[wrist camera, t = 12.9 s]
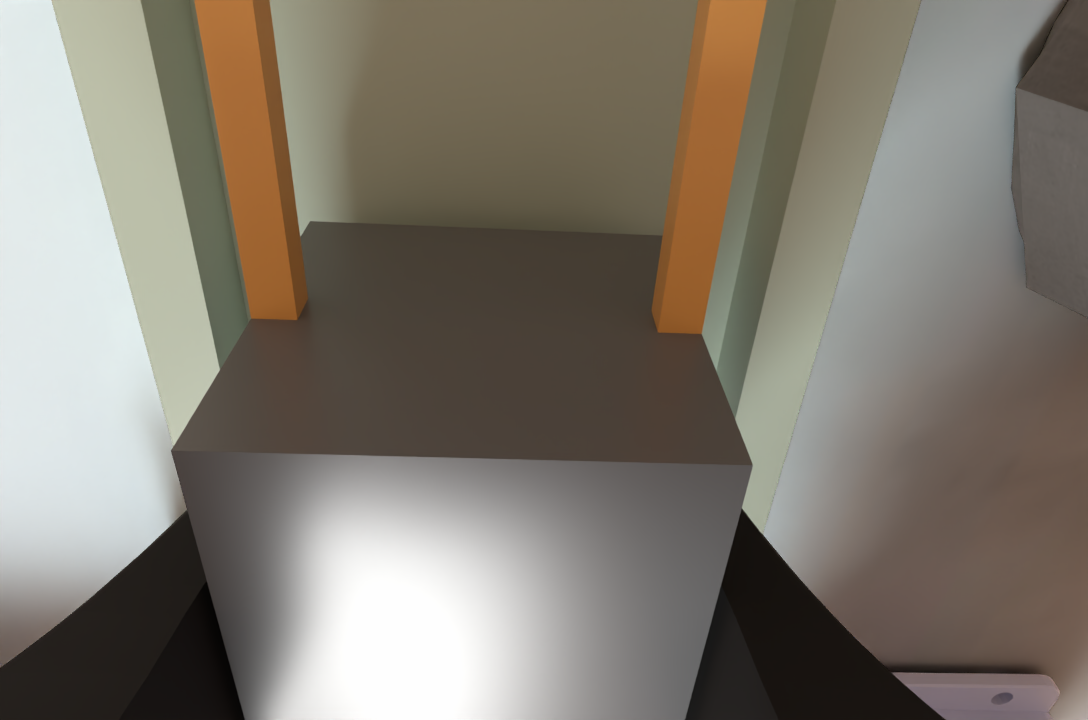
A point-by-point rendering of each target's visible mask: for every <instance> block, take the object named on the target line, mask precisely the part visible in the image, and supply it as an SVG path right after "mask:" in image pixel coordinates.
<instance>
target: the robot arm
mask: <svg viewBox="0 0 1088 720" xmlns="http://www.w3.org/2000/svg"><path fill="white" fill-rule="evenodd" d="M1059 695H1060V691H1059V689H1058V687H1057V686H1056V684H1055V683H1054V681H1053V679H1052V678H1050V677H1049V676H1047V675H1042V674H990V673H904V672H890V671H889V670H888V669H887V668H886V667H885V666H884V665H883V664H882V663H881V662H880V661H879V660H877V659H876V658H875V657H874V656H873V655H872V654H871V653H870V652H869V651H868V650H867V649H866V648H865V647H864V646H863V645H862V644H861V643H859V642H858V641H857V640H856V639H855V638H854V637H853V635H852V634H851V633H850V632H849V631H848V630H847V629H846V628H845V627H844V626H843V625H842V624H841V623H840V622H839V621H838V620H837V619H836V618H835V617H834V616H833V615H832V614H831V613H830V612H829V611H828V609H827V608H826V607H825V606H824V605H823V604H822V603H821V602H820V601H819V600H818V599H817V597H816V596H815V595H814V594H813V593H812V592H811V591H810V590H809V589H808V588H807V587H806V585H805V584H804V583H803V582H802V581H801V580H800V579H799V577H798V576H797V575H796V574H795V573H794V572H793V570H792V569H791V568H790V567H789V566H788V565H787V563H786V562H785V561H784V560H783V559H782V557H781V556H780V555H779V554H778V553H777V551H776V550H775V549H774V548H773V546H772V545H771V544H770V543H769V542H768V540H767V539H766V538H765V537H764V536H763V534H762V533H761V532H760V531H759V529H758V528H757V527H756V526H755V524H754V523H753V522H752V521H751V519H750V518H749V517H748V515H747V514H746V513H745V511H744V510H743V509H741V513H740V516H739V520H738V524H737V528H736V531H735V535H734V539H733V543H732V546H731V550H730V554H729V557H728V561H727V565H726V569H725V572H724V576H723V580H722V584H721V587H720V591H719V595H718V599H717V602H716V606H715V610H714V613H713V617H712V621H711V625H710V628H709V632H708V636H707V640H706V643H705V647H704V651H703V654H702V658H701V662H700V666H699V669H698V673H697V677H696V681H695V684H694V688H693V692H692V696H691V699H690V703H689V707H688V710H687V714H686V718H685V720H1053V719H1052V717H1051V716H1050V714H1049V713H1048V712H1049V711H1050V710H1051V708H1052V707H1053V705H1054V704H1055V703H1056V701H1057V700H1058V697H1059ZM0 720H245V718H244V714H243V711H242V707H241V703H240V700H239V696H238V693H237V689H236V685H235V682H234V678H233V674H232V671H231V667H230V663H229V660H228V656H227V652H226V649H225V645H224V642H223V638H222V634H221V631H220V627H219V623H218V620H217V616H216V612H215V609H214V605H213V601H212V598H211V594H210V591H209V587H208V583H207V580H206V576H205V572H204V569H203V565H202V561H201V558H200V554H199V550H198V547H197V543H196V539H195V536H194V532H193V529H192V525H191V521H190V518H189V514H188V510H186V511H185V512H184V513H183V514H182V515H181V516H180V517H179V518H178V519H177V520H176V521H175V522H174V523H173V524H172V525H171V526H170V527H169V528H168V529H167V530H166V531H165V532H163V533H162V534H161V535H160V536H159V537H158V538H157V539H156V540H155V541H154V542H153V543H152V544H151V545H150V546H149V547H148V548H147V549H146V550H144V551H143V552H142V553H141V554H140V555H139V556H138V557H137V558H136V559H134V560H133V561H132V562H131V563H130V564H129V565H128V566H126V567H125V568H124V569H123V570H122V571H121V572H120V573H118V574H117V575H116V576H115V577H114V578H113V579H112V580H110V581H109V582H108V583H107V584H106V585H105V586H104V587H102V588H101V589H100V590H99V591H98V592H97V593H96V594H94V595H93V596H92V597H91V598H90V599H89V600H87V601H86V602H85V603H84V604H83V605H81V606H80V607H79V608H78V609H77V610H75V611H74V612H73V613H72V614H70V615H69V616H68V617H67V618H66V619H64V620H63V621H62V622H61V623H59V624H58V625H57V626H55V627H54V628H53V629H52V630H50V631H49V632H48V633H47V634H45V635H44V636H43V637H41V638H40V639H39V640H37V641H36V642H35V643H33V644H32V645H31V646H29V647H28V648H27V649H25V650H24V651H23V652H21V653H20V654H19V655H17V656H16V657H15V658H13V659H12V660H11V661H9V662H8V663H7V664H5V665H4V666H2V667H1V668H0Z"/></svg>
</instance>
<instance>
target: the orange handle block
mask: <svg viewBox="0 0 1088 720" xmlns="http://www.w3.org/2000/svg"><path fill="white" fill-rule="evenodd" d="M194 2H195V7H196V13H197V18H198V24H199V30H200V35H201V41H202V46H203V52H204V58H205V63H206V69H207V74H208V80H209V86H210V91H211V97H212V102H213V108H214V114H215V119H216V125H217V130H218V136H219V142H220V147H221V153H222V158H223V164H224V170H225V175H226V181H227V186H228V192H229V198H230V203H231V209H232V214H233V220H234V226H235V231H236V237H237V242H238V248H239V254H240V259H241V265H242V270H243V276H244V282H245V287H246V293H247V298H248V304H249V310H250V315H251V319H250V321H249V323H248V324H247V326H246V328H245V329H244V331H243V333H242V334H241V336H240V338H239V339H238V341H237V343H236V344H235V346H234V348H233V349H232V351H231V352H230V354H229V356H228V357H227V359H226V361H225V362H224V364H223V366H222V367H221V369H220V371H219V372H218V374H217V376H216V377H215V379H214V381H213V382H212V384H211V386H210V387H209V389H208V390H207V392H206V394H205V395H204V397H203V399H202V400H201V402H200V404H199V405H198V407H197V409H196V410H195V412H194V414H193V415H192V417H191V419H190V420H189V422H188V424H187V425H186V427H185V429H184V430H183V432H182V433H181V435H180V437H179V438H178V440H177V442H176V443H175V445H174V447H173V448H172V450H171V452H172V456H173V459H174V463H175V467H176V470H177V474H178V478H179V481H180V485H181V488H182V492H183V496H184V499H185V503H186V507H187V510H188V514H189V518H190V521H191V525H192V529H193V532H194V536H195V539H196V543H197V547H198V550H199V554H200V558H201V561H202V565H203V569H204V572H205V576H206V580H207V583H208V587H209V591H210V594H211V598H212V601H213V605H214V609H215V612H216V616H217V620H218V623H219V627H220V631H221V634H222V638H223V642H224V645H225V649H226V652H227V656H228V660H229V663H230V667H231V671H232V674H233V678H234V682H235V685H236V689H237V693H238V696H239V700H240V703H241V707H242V711H243V714H244V718H245V720H685V718H686V714H687V710H688V707H689V703H690V699H691V696H692V692H693V688H694V684H695V681H696V677H697V673H698V669H699V666H700V662H701V658H702V654H703V651H704V647H705V643H706V640H707V636H708V632H709V628H710V625H711V621H712V617H713V613H714V610H715V606H716V602H717V599H718V595H719V591H720V587H721V584H722V580H723V576H724V572H725V569H726V565H727V561H728V557H729V554H730V550H731V546H732V543H733V539H734V535H735V531H736V528H737V524H738V520H739V516H740V513H741V509H742V505H743V502H744V498H745V494H746V490H747V487H748V483H749V479H750V475H751V472H752V468H753V464H752V461H751V459H750V456H749V453H748V451H747V448H746V446H745V443H744V441H743V438H742V436H741V433H740V430H739V428H738V425H737V423H736V420H735V418H734V415H733V413H732V410H731V407H730V405H729V402H728V400H727V397H726V395H725V392H724V390H723V387H722V385H721V382H720V379H719V377H718V374H717V372H716V369H715V367H714V364H713V362H712V359H711V356H710V354H709V351H708V349H707V346H706V344H705V341H704V339H703V336H702V330H703V325H704V320H705V315H706V309H707V304H708V299H709V294H710V289H711V284H712V279H713V274H714V268H715V263H716V258H717V253H718V248H719V243H720V238H721V233H722V228H723V222H724V217H725V212H726V207H727V202H728V197H729V192H730V187H731V182H732V176H733V171H734V166H735V161H736V156H737V151H738V146H739V141H740V136H741V130H742V125H743V120H744V115H745V110H746V105H747V100H748V95H749V90H750V84H751V79H752V74H753V69H754V64H755V59H756V54H757V49H758V44H759V38H760V33H761V28H762V23H763V18H764V13H765V8H766V3H767V0H698V5H697V12H696V18H695V25H694V31H693V38H692V45H691V51H690V58H689V65H688V71H687V78H686V85H685V91H684V98H683V104H682V111H681V118H680V124H679V131H678V138H677V144H676V151H675V158H674V164H673V171H672V177H671V184H670V191H669V197H668V204H667V211H666V217H665V224H664V231H663V236H661V235H636V234H612V233H588V232H563V231H539V230H514V229H490V228H466V227H441V226H417V225H392V224H368V223H344V222H319V221H310V222H309V224H308V225H307V227H306V229H305V230H304V232H303V234H302V235H301V237H300V231H299V224H298V216H297V208H296V201H295V193H294V185H293V177H292V170H291V162H290V154H289V146H288V139H287V131H286V123H285V116H284V108H283V100H282V92H281V85H280V77H279V69H278V61H277V54H276V46H275V38H274V30H273V23H272V15H271V7H270V0H194Z"/></svg>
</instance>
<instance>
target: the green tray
mask: <svg viewBox="0 0 1088 720" xmlns="http://www.w3.org/2000/svg"><path fill="white" fill-rule="evenodd" d="M920 3H921V0H767V3H766V8H765V13H764V18H763V23H762V28H761V33H760V38H759V44H758V49H757V54H756V59H755V64H754V69H753V74H752V79H751V84H750V90H749V95H748V100H747V105H746V110H745V115H744V120H743V125H742V130H741V136H740V141H739V146H738V151H737V156H736V161H735V166H734V171H733V176H732V182H731V187H730V192H729V197H728V202H727V207H726V212H725V217H724V222H723V228H722V233H721V238H720V243H719V248H718V253H717V258H716V263H715V268H714V274H713V279H712V284H711V289H710V294H709V299H708V304H707V309H706V315H705V320H704V325H703V330H702V336H703V339H704V341H705V344H706V346H707V349H708V351H709V354H710V356H711V359H712V362H713V364H714V367H715V369H716V372H717V374H718V377H719V379H720V382H721V385H722V387H723V390H724V392H725V395H726V397H727V400H728V402H729V405H730V407H731V410H732V413H733V415H734V418H735V420H736V423H737V425H738V428H739V430H740V433H741V436H742V438H743V441H744V443H745V446H746V448H747V451H748V453H749V456H750V459H751V461H752V464H753V468H752V472H751V475H750V479H749V483H748V487H747V490H746V494H745V498H744V502H743V505H742V509H743V510H744V511H745V513H746V514H747V515H748V517H749V518H750V519H751V521H752V522H753V523H754V524H755V526H756V527H757V528H758V529H759V531H760V532H761V533H762V534H763V532H764V528H765V525H766V522H767V518H768V515H769V511H770V508H771V505H772V501H773V498H774V495H775V491H776V488H777V485H778V481H779V478H780V474H781V471H782V468H783V464H784V461H785V458H786V454H787V451H788V448H789V444H790V441H791V437H792V434H793V431H794V427H795V424H796V421H797V417H798V414H799V410H800V407H801V404H802V400H803V397H804V394H805V390H806V387H807V384H808V380H809V377H810V373H811V370H812V367H813V363H814V360H815V357H816V353H817V350H818V347H819V343H820V340H821V336H822V333H823V330H824V326H825V323H826V320H827V316H828V313H829V310H830V306H831V303H832V299H833V296H834V293H835V289H836V286H837V283H838V279H839V276H840V273H841V269H842V266H843V262H844V259H845V256H846V252H847V249H848V246H849V242H850V239H851V235H852V232H853V229H854V225H855V222H856V219H857V215H858V212H859V209H860V205H861V202H862V198H863V195H864V192H865V188H866V185H867V182H868V178H869V175H870V172H871V168H872V165H873V161H874V158H875V155H876V151H877V148H878V145H879V141H880V138H881V135H882V131H883V128H884V124H885V121H886V118H887V114H888V111H889V108H890V104H891V101H892V97H893V94H894V91H895V87H896V84H897V81H898V77H899V74H900V71H901V67H902V64H903V60H904V57H905V54H906V50H907V47H908V44H909V40H910V37H911V34H912V30H913V27H914V23H915V20H916V17H917V13H918V10H919V7H920ZM52 4H53V8H54V11H55V15H56V19H57V22H58V26H59V30H60V33H61V37H62V41H63V44H64V48H65V52H66V55H67V59H68V63H69V66H70V70H71V74H72V77H73V81H74V85H75V88H76V92H77V96H78V99H79V103H80V107H81V110H82V114H83V118H84V121H85V125H86V129H87V132H88V136H89V140H90V143H91V147H92V151H93V154H94V158H95V161H96V165H97V169H98V172H99V176H100V180H101V183H102V187H103V191H104V194H105V198H106V202H107V205H108V209H109V213H110V216H111V220H112V224H113V227H114V231H115V235H116V238H117V242H118V246H119V249H120V253H121V257H122V260H123V264H124V268H125V271H126V275H127V279H128V282H129V286H130V290H131V293H132V297H133V301H134V304H135V308H136V312H137V315H138V319H139V323H140V326H141V330H142V334H143V337H144V341H145V345H146V348H147V352H148V356H149V359H150V363H151V367H152V370H153V374H154V378H155V381H156V385H157V389H158V392H159V396H160V400H161V403H162V407H163V411H164V414H165V418H166V422H167V425H168V429H169V433H170V436H171V440H172V444H173V447H174V445H175V443H176V442H177V440H178V438H179V437H180V435H181V433H182V432H183V430H184V429H185V427H186V425H187V424H188V422H189V420H190V419H191V417H192V415H193V414H194V412H195V410H196V409H197V407H198V405H199V404H200V402H201V400H202V399H203V397H204V395H205V394H206V392H207V390H208V389H209V387H210V386H211V384H212V382H213V381H214V379H215V377H216V376H217V374H218V372H219V371H220V369H221V367H222V366H223V364H224V362H225V361H226V359H227V357H228V356H229V354H230V352H231V351H232V349H233V348H234V346H235V344H236V343H237V341H238V339H239V338H240V336H241V334H242V333H243V331H244V329H245V328H246V326H247V324H248V323H249V321H250V319H251V315H250V310H249V304H248V298H247V293H246V287H245V282H244V276H243V270H242V265H241V259H240V254H239V248H238V242H237V237H236V231H235V226H234V220H233V214H232V209H231V203H230V198H229V192H228V186H227V181H226V175H225V170H224V164H223V158H222V153H221V147H220V142H219V136H218V130H217V125H216V119H215V114H214V108H213V102H212V97H211V91H210V86H209V80H208V74H207V69H206V63H205V58H204V52H203V46H202V41H201V35H200V30H199V24H198V18H197V13H196V7H195V2H194V0H52ZM697 5H698V0H270V7H271V15H272V23H273V30H274V38H275V46H276V54H277V61H278V69H279V77H280V85H281V92H282V100H283V108H284V116H285V123H286V131H287V139H288V146H289V154H290V162H291V170H292V177H293V185H294V193H295V201H296V208H297V216H298V224H299V231H300V237H301V235H302V234H303V232H304V230H305V229H306V227H307V225H308V224H309V222H310V221H319V222H344V223H368V224H392V225H417V226H441V227H466V228H490V229H514V230H539V231H563V232H588V233H612V234H636V235H661V236H663V231H664V224H665V217H666V211H667V204H668V197H669V191H670V184H671V177H672V171H673V164H674V158H675V151H676V144H677V138H678V131H679V124H680V118H681V111H682V104H683V98H684V91H685V85H686V78H687V71H688V65H689V58H690V51H691V45H692V38H693V31H694V25H695V18H696V12H697Z"/></svg>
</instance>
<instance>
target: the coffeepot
mask: <svg viewBox="0 0 1088 720" xmlns="http://www.w3.org/2000/svg"><path fill="white" fill-rule="evenodd" d="M1011 189H1012V194H1013V200H1014V205H1015V210H1016V216H1017V221H1018V227H1019V231H1020V234H1021V236H1022V239H1023V241H1024V249H1025V267H1026V286H1027V288H1029V289H1031V290H1033V291H1035V292H1037V293H1039V294H1041V295H1043V296H1045V297H1047V298H1049V299H1051V300H1053V301H1055V302H1057V303H1059V304H1061V305H1063V306H1065V307H1067V308H1069V309H1071V310H1073V311H1075V312H1077V313H1079V314H1081V315H1083V316H1085V317H1087V318H1088V0H1068V2H1067V3H1066V5H1065V6H1064V8H1063V10H1062V11H1061V13H1060V14H1059V16H1058V18H1057V19H1056V21H1055V22H1054V25H1053V27H1052V29H1051V32H1050V34H1049V36H1048V38H1047V41H1046V43H1045V45H1044V47H1043V50H1042V52H1041V54H1040V55H1039V57H1038V58H1037V60H1036V61H1035V62H1034V64H1033V65H1032V66H1031V68H1030V69H1029V70H1028V72H1027V73H1026V75H1025V76H1024V77H1023V79H1022V80H1021V81H1020V83H1019V84H1018V85H1017V87H1016V97H1015V123H1014V147H1013V166H1012V185H1011Z"/></svg>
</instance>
